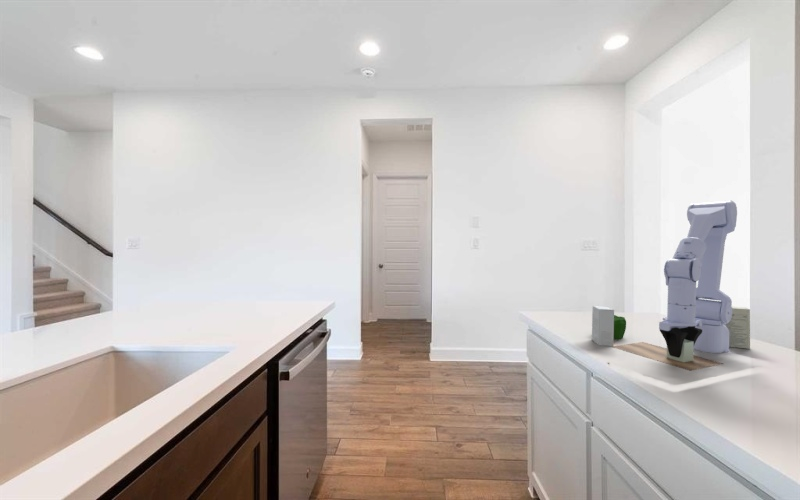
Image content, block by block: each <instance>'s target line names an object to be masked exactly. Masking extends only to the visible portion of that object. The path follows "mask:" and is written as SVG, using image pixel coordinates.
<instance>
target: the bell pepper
mask: <svg viewBox="0 0 800 500" xmlns="http://www.w3.org/2000/svg"><path fill="white" fill-rule="evenodd" d="M626 330H627V320H626V317H624V316H618V315H616V314H614V340H622V339H623V338H624V336H625V333H626Z"/></svg>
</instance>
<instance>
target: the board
mask: <svg viewBox="0 0 800 500" xmlns="http://www.w3.org/2000/svg"><path fill="white" fill-rule="evenodd" d="M611 348H614V349H618V350H621V351H624V352H626V353H631V354H633V355H638V356H640V357H644V358H647V359H650V360H654V361H657V362H661V363H664V364H667V365H669V366H670V365H671V366H673V367H675V368H676V367H678V368H680V369H683V370H687V371H695V370H699V369H704V368H710V367H715V366H718V365H724V363H723V362H719V361H715V360H712V359H708V358H704V357H701V356H697V355H694V354H693V361H688V362H681V361H677V360H674V359H670V358H667V347H663V346H659V345H655V344H653V343H648V342H645V341H640V342H634V343H626V344H619V345H613V346H611Z"/></svg>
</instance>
